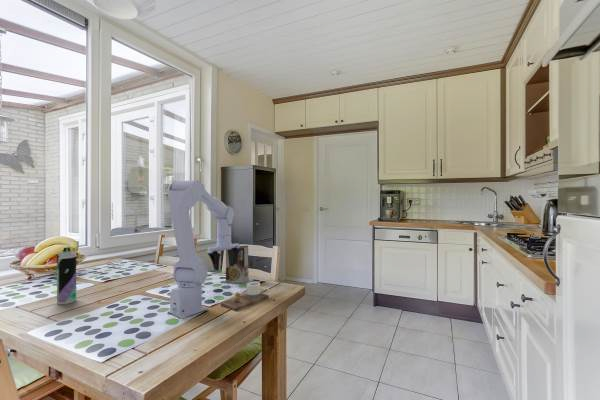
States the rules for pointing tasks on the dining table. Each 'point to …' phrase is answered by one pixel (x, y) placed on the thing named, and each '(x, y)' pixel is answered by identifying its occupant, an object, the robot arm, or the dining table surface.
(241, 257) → the coffee box
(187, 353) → the dining table surface
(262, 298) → the pin board
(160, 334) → the dining table surface
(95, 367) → the dining table surface
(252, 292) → the sleeve
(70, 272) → the black purple carton
